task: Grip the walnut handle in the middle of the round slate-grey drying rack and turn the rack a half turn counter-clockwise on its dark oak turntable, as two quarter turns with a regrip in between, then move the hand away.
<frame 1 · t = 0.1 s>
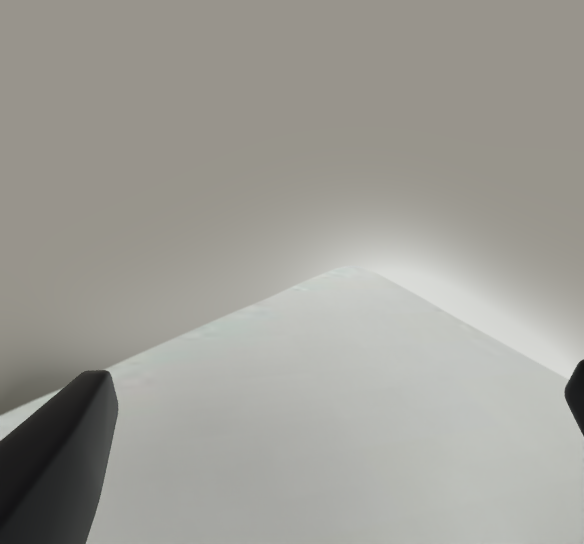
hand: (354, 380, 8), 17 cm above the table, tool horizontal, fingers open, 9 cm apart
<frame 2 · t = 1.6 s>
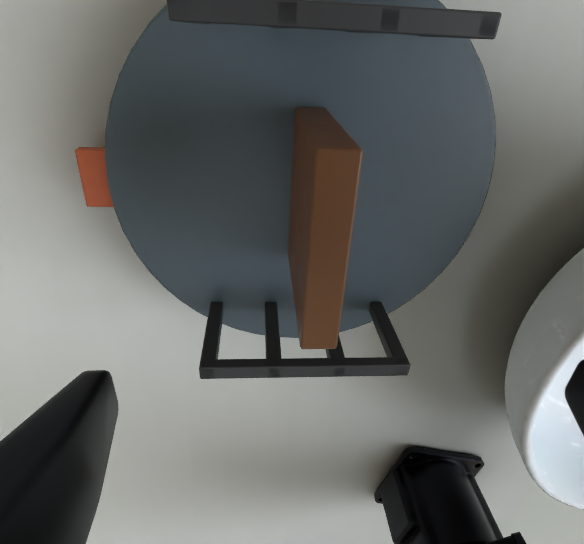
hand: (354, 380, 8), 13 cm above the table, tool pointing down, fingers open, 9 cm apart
drying rack: (296, 213, 15), point 5 cm above the table, hinge at 0.0°
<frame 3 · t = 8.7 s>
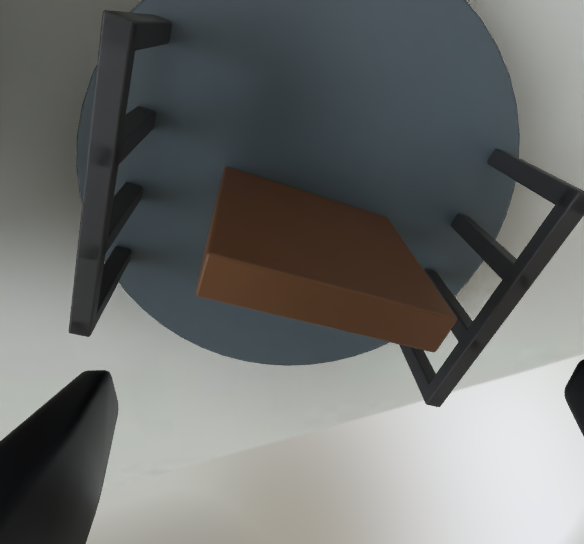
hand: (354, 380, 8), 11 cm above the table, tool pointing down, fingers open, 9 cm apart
drying rack: (321, 222, 13), point 5 cm above the table, hinge at 72.3°
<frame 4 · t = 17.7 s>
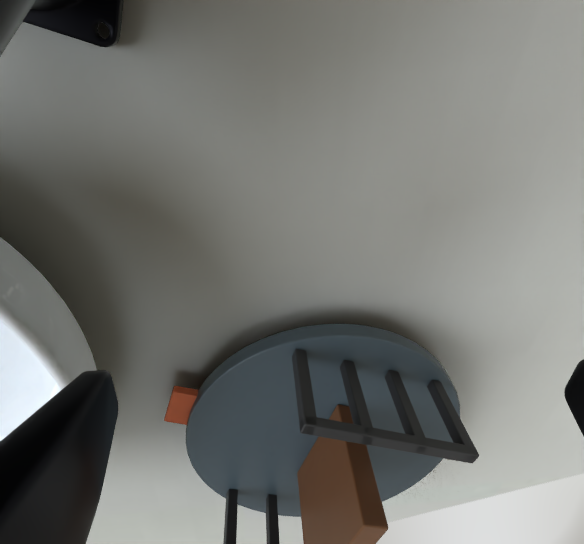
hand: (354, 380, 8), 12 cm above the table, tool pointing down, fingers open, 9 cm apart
drying rack: (322, 484, 22), point 5 cm above the table, hinge at 162.4°
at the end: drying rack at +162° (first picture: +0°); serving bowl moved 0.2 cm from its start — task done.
